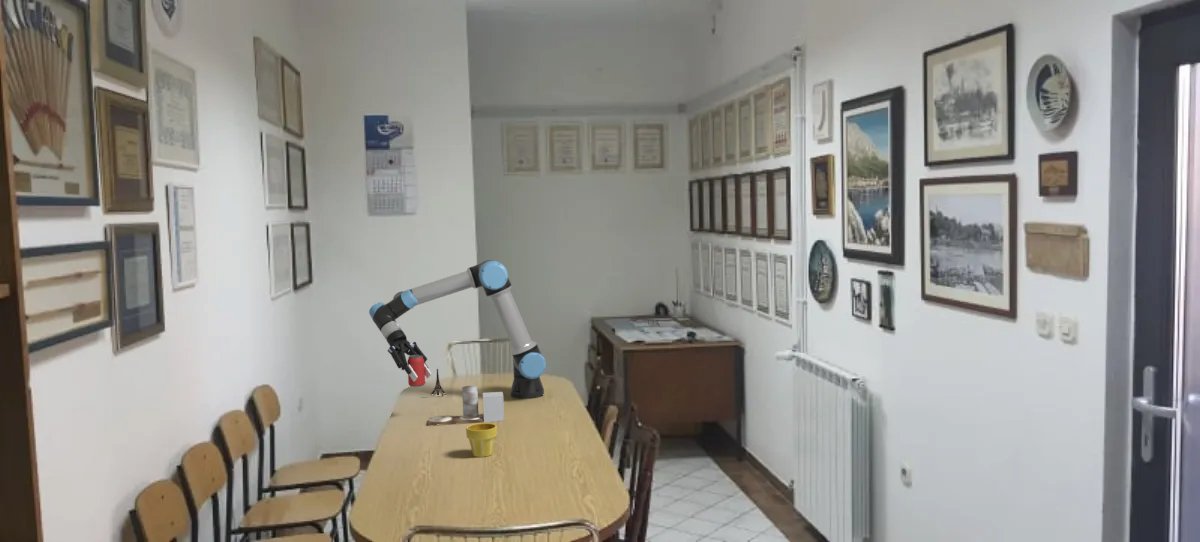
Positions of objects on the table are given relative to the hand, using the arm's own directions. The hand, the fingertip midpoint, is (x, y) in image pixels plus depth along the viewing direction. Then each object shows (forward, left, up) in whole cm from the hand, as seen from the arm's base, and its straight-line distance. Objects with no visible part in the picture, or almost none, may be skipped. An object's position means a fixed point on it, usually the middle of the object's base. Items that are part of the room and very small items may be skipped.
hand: (422, 377), depth 346 cm
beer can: (+3, -3, -4) cm, 5 cm away
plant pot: (-23, +58, -17) cm, 64 cm away
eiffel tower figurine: (-3, -49, -18) cm, 52 cm away
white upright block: (-28, +7, -17) cm, 33 cm away
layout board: (-13, +7, -17) cm, 22 cm away
